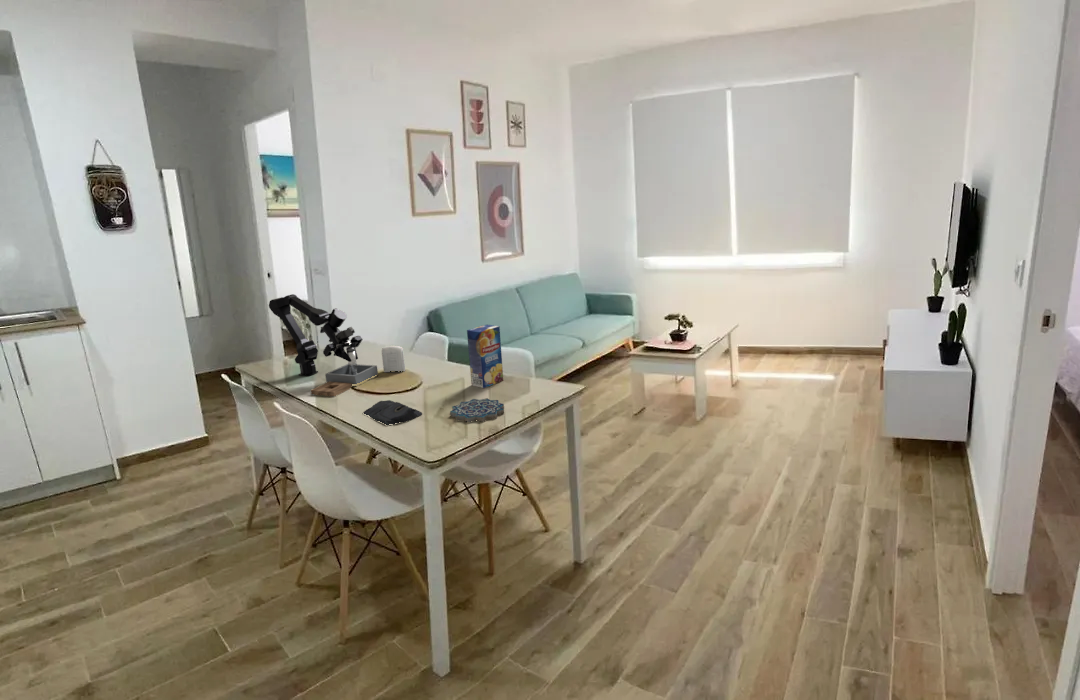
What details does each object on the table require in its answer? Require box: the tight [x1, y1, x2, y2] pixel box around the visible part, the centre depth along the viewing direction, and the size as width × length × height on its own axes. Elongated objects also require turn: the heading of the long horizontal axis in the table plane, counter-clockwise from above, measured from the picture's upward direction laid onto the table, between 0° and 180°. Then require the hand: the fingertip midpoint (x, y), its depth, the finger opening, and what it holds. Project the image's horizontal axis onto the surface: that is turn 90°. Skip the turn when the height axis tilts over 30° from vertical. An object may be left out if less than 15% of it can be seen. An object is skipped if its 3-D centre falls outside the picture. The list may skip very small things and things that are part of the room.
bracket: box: [310, 381, 353, 397], centre depth 263 cm, size 12×12×2 cm
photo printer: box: [381, 345, 406, 373], centre depth 286 cm, size 10×4×12 cm, turn 85°
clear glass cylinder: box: [345, 347, 358, 375], centre depth 275 cm, size 4×4×12 cm
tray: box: [324, 363, 379, 384], centre depth 277 cm, size 16×16×5 cm
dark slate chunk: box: [362, 399, 423, 426], centre depth 231 cm, size 15×22×5 cm
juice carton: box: [466, 324, 504, 389], centre depth 260 cm, size 12×8×24 cm, turn 140°
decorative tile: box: [449, 397, 505, 423], centre depth 229 cm, size 20×20×2 cm
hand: (353, 360), depth 274 cm, fingers closed on clear glass cylinder, 3 cm apart
